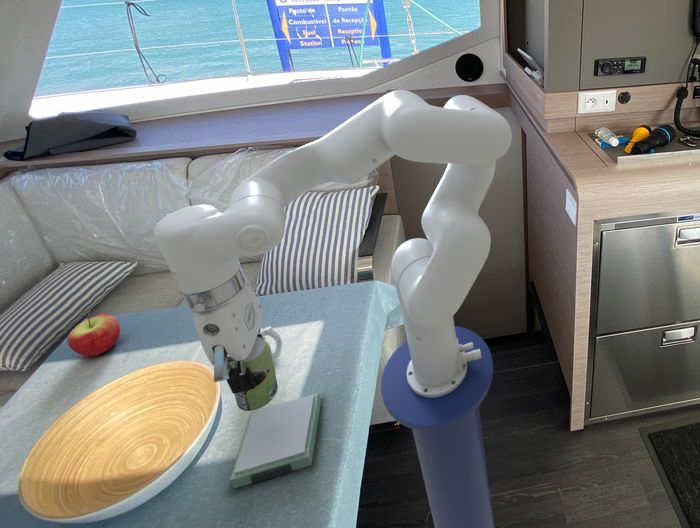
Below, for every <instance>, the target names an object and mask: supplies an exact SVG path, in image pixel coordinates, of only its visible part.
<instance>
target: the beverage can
mask: <svg viewBox="0 0 700 528" xmlns="http://www.w3.org/2000/svg"><path fill="white" fill-rule="evenodd" d="M270 345H271V344H270V343H269V342H268V341H267V340H266V341H265V340H264V339H263V338H261V337H258V336H257V337H256V340H255V343H254V345H253V348H252V350H251V352H250V354H249V356H248V357H247V358H246V359H244V361H245V367H246V368H249V369H250V372H251V374H252V376H253V379H254V381H255V383H256V386H255V388H254V389H251V390H248V391H244V392H240V393H236V394H234V398H235V402H236V405H237V407H238V408H239V409H240V410H242V411H245V412H251V411H255V410H258V409H262V408H264V407H265V406H267V405H268V404H270V402H272V400H273V399H274V398H275V396H276V394H277V393H278V388H279V387H278V386H279V385H278V380H277V375H276V370H275V369H276V368H275V364H274V358H273V359H272V353H271V351H272V349H271V346H270ZM228 365H229V370H230V369H234V368H238V366H237V360H236V361H232V362H228Z"/></svg>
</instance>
